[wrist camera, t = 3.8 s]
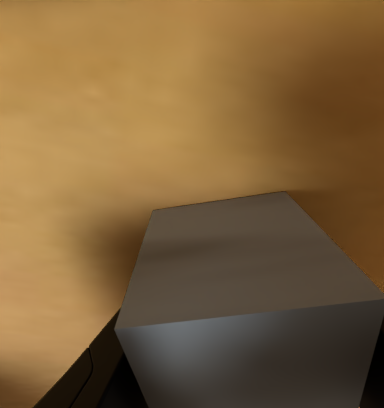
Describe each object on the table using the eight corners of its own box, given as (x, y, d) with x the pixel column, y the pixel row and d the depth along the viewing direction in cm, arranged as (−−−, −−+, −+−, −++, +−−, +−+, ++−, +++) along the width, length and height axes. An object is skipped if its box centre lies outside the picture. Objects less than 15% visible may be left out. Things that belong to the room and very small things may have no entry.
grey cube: (283, 291, 11) (351, 433, 6) (176, 303, 11) (166, 448, 7) (285, 191, 9) (388, 298, 4) (152, 210, 9) (114, 329, 4)
